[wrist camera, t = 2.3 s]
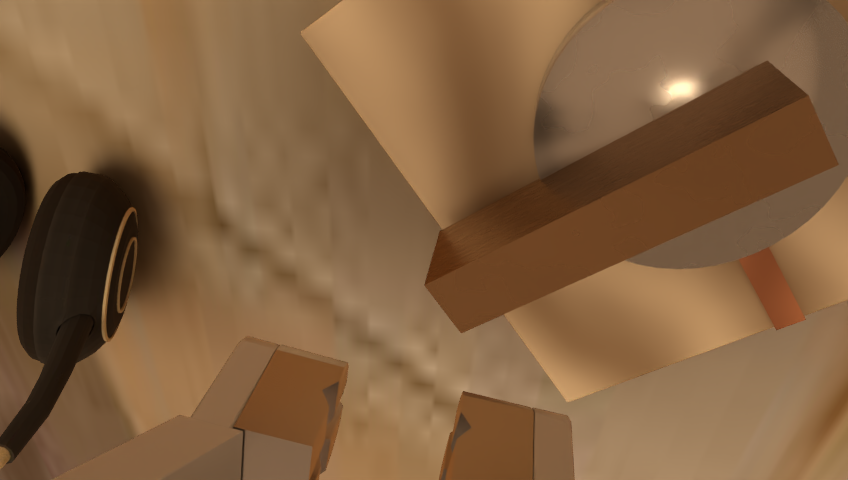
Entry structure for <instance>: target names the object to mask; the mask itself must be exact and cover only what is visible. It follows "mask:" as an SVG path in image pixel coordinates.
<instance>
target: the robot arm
mask: <svg viewBox="0 0 848 480" xmlns="http://www.w3.org/2000/svg"><path fill="white" fill-rule="evenodd" d="M348 368H349V365H348V363H347V362H344V361H340V360H336V359H333V358H329V357H325V356H322V355H318V354H315V353H311V352H307V351H304V350H300V349H296V348H293V347H289V346H285V345H278V344H275V343H271V342H268V341H264V340H261V339H257V338H254V337H250V336H246V337H245V338H244V339H242V340H241V341H240V342H239V343H238V345H237V346H236V348H235V349H234V351H233V352H232V354H231V355H230V357H229V358H228V360H227V362H226V363H225V365H224V366H223V368H222V369H221V371H220V372H219V374H218V376H217V377H216V379H215V380H214V382H213V383H212V385H211V386H210V388H209V389H208V391H207V393H206V394H205V396H204V397H203V399H202V400H201V402H200V403H199V405H198V406H197V408H196V410H195V411H194V413H193V414H192V416H191V417H186V416H182V415H179V416H177V417H175V418H173V419H171V420H169V421H167V422H165V423H163V424H161V425H159V426H157V427H155V428H153V429H151V430H149V431H147V432H145V433H143V434H141V435H139V436H137V437H135V438H133V439H131V440H129V441H127V442H125V443H123V444H121V445H119V446H117V447H115V448H113V449H111V450H109V451H107V452H105V453H103V454H101V455H99V456H97V457H95V458H93V459H91V460H89V461H87V462H85V463H83V464H81V465H80V466H78V467H76V468H74V469H72V470H70V471H68V472H66V473H64V474H62V475H60V476H58V477H56V478H54V479H52V480H319V475H320V474H321V473H322V472H324V471H325V470H326V468H327V465H328V462H329V459H330V456H331V454H332V450H333V447H334V443H335V440H336V436H337V433H338V428H339V424H340V419H341V414H342V408H343V405H342V403H341V402H340V399H341V397H342V394H343V391H344V389H345V386H346V383H347V375H348ZM439 480H575V478H574V461H573V444H572V427H571V421H570V419H569V417H568V416H567V415H563V414H558V413H554V412H550V411H545V410H541V409H537V408H532V409H531V408H530V407H527V406H523V405H519V404H514V403H510V402H506V401H502V400H498V399H494V398H490V397H485V396H481V395H477V394H473V393H469V392H465V391H463V392H462V395H461V398H460V401H459V404H458V407H457V411H456V417H455V423H454V429H453V431H452V432H451V433H450V435H449V439H448V443H447V447H446V450H445V454H444V458H443V462H442V466H441V471H440V476H439Z"/></svg>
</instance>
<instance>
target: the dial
mask: <svg viewBox="0 0 848 480" xmlns="http://www.w3.org/2000/svg"><path fill="white" fill-rule="evenodd" d="M533 140H534V155H535V161H536V166H537V171H538V175H539V179H537V180H535V181H534V182H532V183H530V184H528V185H526V186H524V187H522V188H520V189H518V190H517V191H515V192H513V193H511V194H509V195H507V196H505V197H503V198H501V199H499V200H498V201H496V202H494V203H492V204H490V205H488V206H486V207H484V208H482V209H481V210H479V211H477V212H475V213H473V214H471V215H469V216H467V217H465V218H464V219H462V220H460V221H458V222H456V223H454V224H452V225H450V226H448V227H447V228H445V229H443V230H441V231H440V232H439V236H438V239H437V243H436V246H435V250H434V253H433V257H432V260H431V264H430V267H429V271H428V274H427V278H426V281H425V287H426V288H427V289H428V291H429V292H430V293H431V294H432V296H433V297H434V298H435V300H436V301H437V302H438V304H439V305H440V306H441V307H442V309H443V310H444V311H445V313H446V314H447V315H448V317H449V318H450V319H451V321H452V322H453V323H454V324H455V326H456V327H457V328H458V330H459V331H460V332H461V333H463V332H465V331H467V330H470V329H472V328H474V327H476V326H479V325H481V324H483V323H485V322H487V321H490V320H492V319H494V318H496V317H499V316H501V315H503V314H505V313H508V312H510V311H512V310H514V309H517V308H519V307H521V306H523V305H526V304H528V303H530V302H532V301H535V300H537V299H539V298H541V297H544V296H546V295H548V294H550V293H553V292H555V291H557V290H559V289H562V288H564V287H566V286H568V285H571V284H573V283H575V282H577V281H580V280H582V279H584V278H586V277H588V276H591V275H593V274H595V273H597V272H600V271H602V270H604V269H606V268H609V267H611V266H613V265H615V264H618V263H620V262H622V261H624V260H625V261H628V262H631V263H635V264H638V265H643V266H649V267H655V268H666V269H693V268H702V267H709V266H715V265H719V264H723V263H727V262H732V261H735V260H738V259H741V258H744V257H747V256H749V255H752V254H755V253H757V252H759V251H761V250H763V249H765V248H767V247H770V246H772V245H774V244H775V243H777V242H779V241H780V240H782V239H784V238H785V237H787V236H788V235H790V234H792V233H793V232H794V231H796V230H797V229H798V228H800V227H801V226H802V225H804V224H805V223H806V222H808V221H809V220H810V219H811V218H812V217H813V216H814V215H815V214H816V213H817V212H818V211H819V210H820V209H822V208H823V207H824V206H825V204H826V203H827V202H828V201H829V200H830V199H831V197H832V196H833V195H834V194H835V193H836V191H837V190H838V189H839V188H840V186H841V185H842V183H843V181H844V180H845V178H846V177H847V175H848V23H847V22H846V21H845V19H844V18H843V16H842V15H841V14H840V13H839V12H838V11H837V10H836V9H835V8H834V7H833V6H832V5H831V4H830V3H829V2H828V1H827V0H602V1H600V2H599V3H597V4H596V5H595V6H594V7H593V8H592V9H591V10H590V11H589V12H587V13H586V14H585V15H584V16H583V17H582V18H581V19H580V20H579V21H578V22H577V23H576V25H575V26H574V27H573V28H572V29H571V30H570V32H569V33H568V34H567V35H566V37H565V38H564V39H563V41H562V42H561V44H560V45H559V47H558V48H557V50H556V51H555V53H554V55H553V57H552V59H551V61H550V63H549V65H548V67H547V69H546V71H545V74H544V77H543V79H542V82H541V85H540V88H539V92H538V97H537V101H536V106H535V117H534V136H533Z"/></svg>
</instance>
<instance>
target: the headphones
mask: <svg viewBox="0 0 848 480" xmlns="http://www.w3.org/2000/svg"><path fill="white" fill-rule="evenodd" d="M25 200H26V193H25V185H24V182H23V178H22V176H21V174H20V171H19V169H18V168H17V166H16V163H15V162H14V161H13V159H12V158H11V157H10V155H9V154H8V153H7V152H6V151H5V150H4V149H2V148H1V147H0V257H1V256H2V255H3V254H4V252H5V251H6V250H7V248H8V247H9V245H10V244H11V242H12V241H13V239H14V237H15V235H16V233H17V231H18V229H19V226H20V224H21V221H22V218H23V214H24V209H25ZM137 247H138V219H137V212H136V209H135V208H132V206H131V204H130V202H129V201H128V199H127V197H126V195H125V194H124V193H123V191H122V190H121V189H120V188H119V187H118V186H117V185H116V184H115V183H114V182H113V181H112V180H111V179H110V178H108V177H106V176H103V175H101V174H95V173H89V172H79V173H71V174H67V175H66V176H64V177H63V178H61V179H60V180H58V181H57V182H55V183H54V184H53V185H52V187H51V188H50V189H49V191H48V192H47V194H46V195H45V197H44V199H43V201H42V203H41V205H40V207H39V210H38V212H37V214H36V217H35V220H34V223H33V225H32V228H31V232H30V235H29V238H28V242H27V246H26V249H25V254H24V258H23V263H22V268H21V274H20V280H19V288H18V298H17V329H18V335H19V339H20V342H21V345H22V346H23V348H24V349H25V351H26V352H27V353H28V355H29V356H30V357H31V358H33V359H36V360H38V361H40V362H41V363H44V364H45V365H44V367H43V369H42V372H41V374H40V377H39V379H38V381H37V383H36V384H35V386H34V388H33V390H32V392H31V394H30V396H29V398H28V399H27V401H26V403H25V404H24V406H23V407H22V408H21V410H20V411H19V412H18V414H17V415H16V416H15V418H14V419H13V420H12V422H11V423H10V425H9V426H8V427H7V429H6V430H5V431H4V433H3V434H2V435H1V437H0V469H1V468H2V467H3V466H4V465H5V464H8V463H11V462H13V460H14V459H15V458H16V457H17V455H18V454H19V453H20V452H21V450H22V449H23V448H24V447H25V445H26V444H27V443H28V441H29V440H30V439H31V438H32V436H33V435H34V434H35V433H36V431H37V430H38V429H39V427H40V426H41V425H42V424H43V422H44V421H45V420H46V419H47V417H48V416H49V414H50V412H51V410H52V409H53V407H54V405H55V403H56V401H57V399H58V397H59V396H60V394H61V392H62V390H63V388H64V386H65V385H66V383H67V381H68V379H69V377H70V375H71V373H72V371H73V369H74V367H75V364H76V363H77V362H79V361H81V360H83V359H85V358H86V357H88V356H90V355H91V354H93V353H95V352H96V351H97V350H98V349H99V348H100V347H101V346H102V345H103V344H105V343H106V342H109V341H111V339H112V338H113V337H114V335H115V333H116V331H117V328H118V326H119V323H120V321H121V319H122V316H123V314H124V311H125V308H126V305H127V301H128V298H129V294H130V290H131V286H132V282H133V277H134V272H135V265H136V258H137Z"/></svg>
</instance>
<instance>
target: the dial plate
mask: <svg viewBox="0 0 848 480" xmlns="http://www.w3.org/2000/svg"><path fill="white" fill-rule="evenodd" d="M600 1H602V0H343V1H341V2H340V3H339V4H337V5H336V6H335V7H333V8H332V9H331V10H329V11H328V12H327V13H325V14H324V15H323V16H321V17H320V18H319V19H317V20H316V21H315V22H314V23H312V24H311V25H310V26H308V27H307V28H306V29H304V30H303V31H302V32H300V34H301V35H302V36H303V38H304V39H305V41H306V42H307V43H308V45H309V46H310V48H311V49H312V50H313V52H314V53H315V54H316V56H317V57H318V59H319V60H320V61H321V63H322V64H323V65H324V67H325V68H326V70H327V71H328V72H329V74H330V75H331V77H332V78H333V79H334V81H335V82H336V83H337V85H338V86H339V88H340V89H341V90H342V92H343V93H344V94H345V96H346V97H347V99H348V100H349V101H350V103H351V104H352V106H353V107H354V108H355V110H356V111H357V112H358V114H359V115H360V117H361V118H362V119H363V121H364V122H365V123H366V125H367V126H368V128H369V129H370V130H371V132H372V133H373V135H374V136H375V137H376V139H377V140H378V141H379V143H380V144H381V146H382V147H383V148H384V150H385V151H386V152H387V154H388V155H389V157H390V158H391V159H392V161H393V162H394V164H395V165H396V166H397V168H398V169H399V170H400V172H401V173H402V175H403V176H404V177H405V179H406V180H407V181H408V183H409V184H410V186H411V187H412V188H413V190H414V191H415V193H416V194H417V195H418V197H419V198H420V199H421V201H422V202H423V204H424V205H425V206H426V208H427V209H428V210H429V212H430V213H431V215H432V216H433V217H434V219H435V220H436V222H437V223H438V224H439V226H440V227H441V228H442V230H443V229H445V228H447V227H448V226H450V225H452V224H454V223H456V222H458V221H460V220H462V219H464V218H465V217H467V216H469V215H471V214H473V213H475V212H477V211H479V210H481V209H482V208H484V207H486V206H488V205H490V204H492V203H494V202H496V201H498V200H499V199H501V198H503V197H505V196H507V195H509V194H511V193H513V192H515V191H517V190H518V189H520V188H522V187H524V186H526V185H528V184H530V183H532V182H534V181H535V180H537V179H539V175H538V171H537V166H536V161H535V155H534V140H533V136H534V117H535V106H536V101H537V97H538V92H539V88H540V85H541V82H542V79H543V77H544V74H545V71H546V69H547V67H548V65H549V63H550V61H551V59H552V57H553V55H554V53H555V51H556V50H557V48H558V47H559V45H560V44H561V42H562V41H563V39H564V38H565V37H566V35H567V34H568V33H569V32H570V30H571V29H572V28H573V27H574V26H575V25H576V23H577V22H578V21H579V20H580V19H581V18H582V17H583V16H584V15H585V14H586V13H587V12H589V11H590V10H591V9H592V8H593V7H594V6H595V5H596V4H597V3H599V2H600ZM827 1H828V2H829V3H830V4H831V5H832V6H833V7H834V8H835V9H836V10H837V11H838V12H839V13H840V14H841V15H842V16H843V18H844V19H845V21H846V22H847V23H848V0H827ZM846 300H848V175H847V177H846V178H845V180H844V181H843V183H842V185H841V186H840V188H839V189H838V190H837V191H836V193H835V194H834V195H833V196H832V197H831V199H830V200H829V201H828V202H827V203H826V204H825V206H824V207H823V208H822V209H820V210H819V211H818V212H817V213H816V214H815V215H814V216H813V217H812V218H811V219H810V220H809V221H808V222H806V223H805V224H804V225H802V226H801V227H800V228H798V229H797V230H796V231H794V232H793V233H792V234H790V235H788V236H787V237H785V238H784V239H782V240H780V241H779V242H777V243H775V244H774V245H772V246H770V247H767V248H765V249H763V250H761V251H759V252H757V253H755V254H752V255H749V256H747V257H744V258H741V259H738V260H735V261H732V262H727V263H723V264H719V265H715V266H709V267H702V268H693V269H666V268H655V267H649V266H643V265H638V264H635V263H631V262H628V261H625V260H624V261H622V262H620V263H618V264H615V265H613V266H611V267H609V268H606V269H604V270H602V271H600V272H597V273H595V274H593V275H591V276H588V277H586V278H584V279H582V280H580V281H577V282H575V283H573V284H571V285H568V286H566V287H564V288H562V289H559V290H557V291H555V292H553V293H550V294H548V295H546V296H544V297H541V298H539V299H537V300H535V301H532V302H530V303H528V304H526V305H523V306H521V307H519V308H517V309H514V310H512V311H510V312H508V313H505V314H504V315H505V317H506V318H507V320H508V321H509V322H510V324H511V325H512V327H513V328H514V329H515V331H516V332H517V333H518V335H519V336H520V338H521V339H522V340H523V342H524V343H525V344H526V346H527V347H528V349H529V350H530V351H531V353H532V354H533V356H534V357H535V358H536V360H537V361H538V362H539V364H540V365H541V367H542V368H543V369H544V371H545V372H546V373H547V375H548V376H549V378H550V379H551V380H552V382H553V383H554V385H555V386H556V387H557V389H558V390H559V391H560V393H561V394H562V396H563V397H564V398H565V400H566V401H567V402H570V401H573V400H576V399H578V398H581V397H584V396H586V395H589V394H592V393H595V392H597V391H600V390H603V389H606V388H608V387H611V386H614V385H616V384H619V383H622V382H625V381H627V380H630V379H633V378H636V377H638V376H641V375H644V374H647V373H649V372H652V371H655V370H657V369H660V368H663V367H666V366H668V365H671V364H674V363H677V362H679V361H682V360H685V359H688V358H690V357H693V356H696V355H698V354H701V353H704V352H707V351H709V350H712V349H715V348H718V347H720V346H723V345H726V344H728V343H731V342H734V341H737V340H739V339H742V338H745V337H748V336H750V335H753V334H756V333H759V332H761V331H764V330H767V329H769V328H772V327H775V329H776V330H778V329H781V328H784V327H786V326H789V325H792V324H795V323H797V322H800V321H803V320H806V319H805V317H804V316H805V315H808V314H810V313H813V312H816V311H819V310H821V309H824V308H827V307H830V306H832V305H835V304H838V303H840V302H843V301H846Z"/></svg>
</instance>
